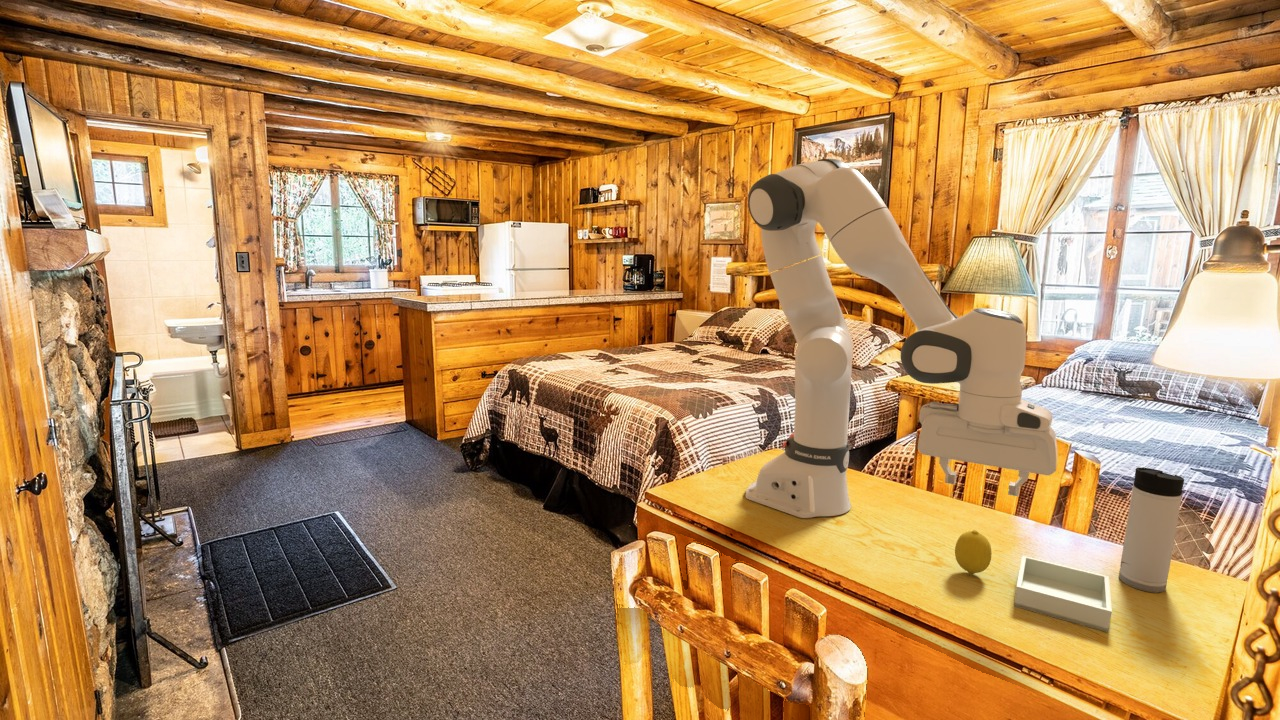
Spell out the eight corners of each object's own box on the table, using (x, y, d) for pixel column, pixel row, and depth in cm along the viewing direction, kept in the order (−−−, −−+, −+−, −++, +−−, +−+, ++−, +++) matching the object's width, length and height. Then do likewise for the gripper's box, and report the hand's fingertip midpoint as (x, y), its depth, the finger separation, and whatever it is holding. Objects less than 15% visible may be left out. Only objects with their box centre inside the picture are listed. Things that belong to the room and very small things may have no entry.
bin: (1014, 606, 99) (1016, 586, 99) (1020, 573, 109) (1022, 555, 108) (1108, 632, 93) (1111, 611, 92) (1105, 595, 102) (1108, 576, 102)
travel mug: (1109, 578, 107) (1126, 466, 104) (1132, 570, 110) (1149, 461, 106) (1150, 597, 102) (1170, 479, 98) (1174, 588, 105) (1194, 473, 101)
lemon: (993, 584, 106) (998, 539, 104) (958, 580, 107) (962, 536, 105) (983, 567, 111) (987, 525, 109) (949, 564, 112) (953, 522, 111)
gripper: (916, 404, 107) (910, 481, 109) (1061, 422, 95) (1051, 508, 98) (924, 396, 112) (918, 470, 114) (1062, 413, 100) (1053, 495, 103)
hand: (981, 488), depth 106 cm, fingers open, 8 cm apart
